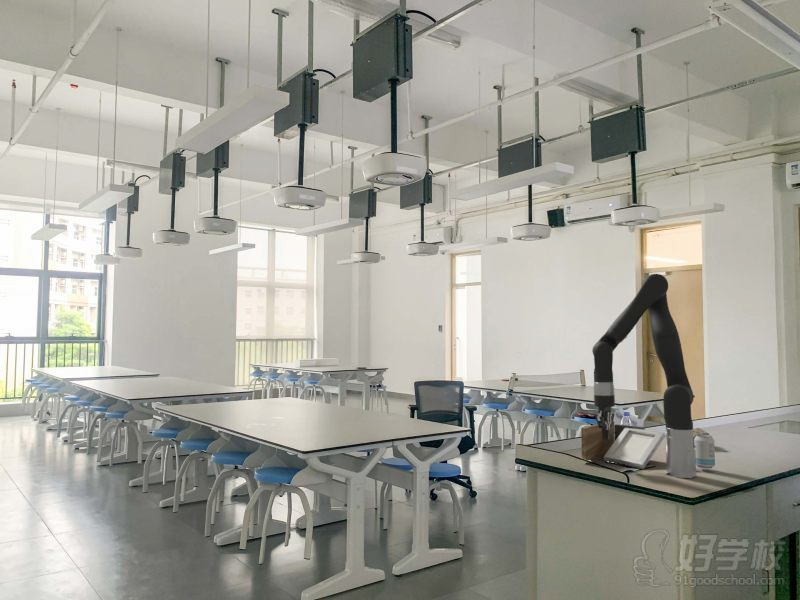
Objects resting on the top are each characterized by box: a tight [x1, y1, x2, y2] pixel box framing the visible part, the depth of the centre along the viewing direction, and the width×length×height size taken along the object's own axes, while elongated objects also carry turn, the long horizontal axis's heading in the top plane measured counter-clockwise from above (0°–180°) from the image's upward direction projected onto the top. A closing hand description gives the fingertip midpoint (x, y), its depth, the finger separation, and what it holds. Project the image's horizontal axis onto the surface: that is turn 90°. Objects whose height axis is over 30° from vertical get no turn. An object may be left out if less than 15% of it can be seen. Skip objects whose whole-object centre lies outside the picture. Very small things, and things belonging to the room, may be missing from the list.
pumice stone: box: [693, 427, 710, 446], centre depth 277 cm, size 14×12×8 cm
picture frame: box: [603, 428, 666, 470], centre depth 239 cm, size 16×3×21 cm
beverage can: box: [694, 434, 716, 469], centre depth 231 cm, size 7×7×12 cm
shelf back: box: [580, 420, 615, 462], centre depth 245 cm, size 2×28×14 cm, turn 138°
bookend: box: [614, 423, 646, 441], centre depth 250 cm, size 12×6×13 cm, turn 48°
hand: (606, 439), depth 231 cm, fingers closed
